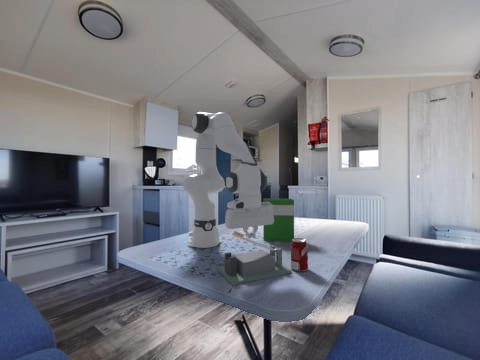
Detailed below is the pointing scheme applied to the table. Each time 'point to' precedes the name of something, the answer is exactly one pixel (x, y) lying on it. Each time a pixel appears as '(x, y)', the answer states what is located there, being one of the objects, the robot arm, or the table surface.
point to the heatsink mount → (253, 266)
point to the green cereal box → (280, 221)
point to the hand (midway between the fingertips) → (250, 237)
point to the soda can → (299, 254)
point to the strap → (251, 240)
